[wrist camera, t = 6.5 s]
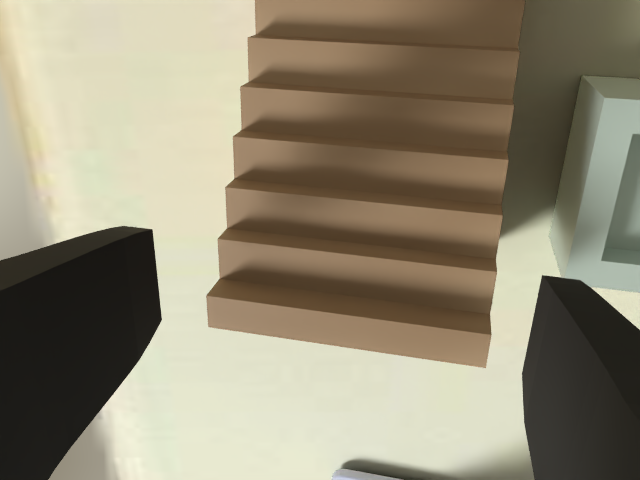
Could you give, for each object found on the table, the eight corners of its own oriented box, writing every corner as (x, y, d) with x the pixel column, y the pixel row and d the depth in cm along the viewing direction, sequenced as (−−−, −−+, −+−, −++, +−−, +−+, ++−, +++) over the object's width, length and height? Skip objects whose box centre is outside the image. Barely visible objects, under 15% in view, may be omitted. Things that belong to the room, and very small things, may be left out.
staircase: (480, 248, 17) (485, 368, 12) (280, 225, 19) (208, 326, 13) (525, -52, 14) (559, -60, 9) (278, -57, 15) (182, -67, 10)
